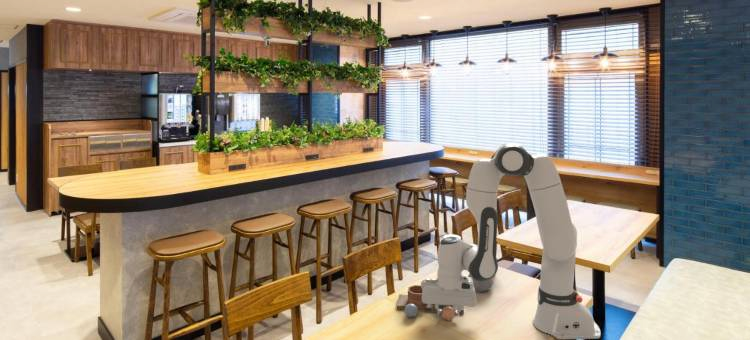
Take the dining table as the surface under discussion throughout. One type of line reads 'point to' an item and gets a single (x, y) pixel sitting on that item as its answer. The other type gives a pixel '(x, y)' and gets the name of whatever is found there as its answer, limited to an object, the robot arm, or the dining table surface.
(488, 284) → the coffee pot
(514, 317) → the dining table surface
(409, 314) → the slate ball
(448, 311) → the terracotta ball
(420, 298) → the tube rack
